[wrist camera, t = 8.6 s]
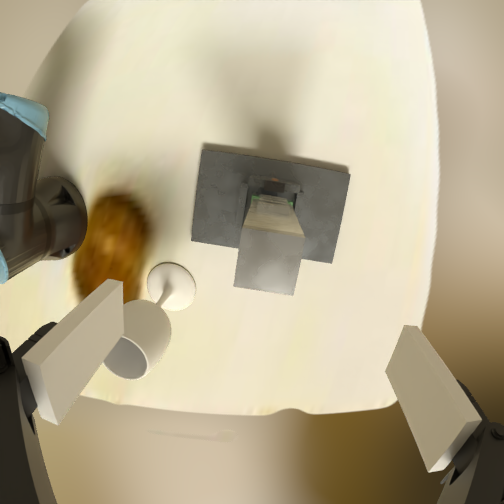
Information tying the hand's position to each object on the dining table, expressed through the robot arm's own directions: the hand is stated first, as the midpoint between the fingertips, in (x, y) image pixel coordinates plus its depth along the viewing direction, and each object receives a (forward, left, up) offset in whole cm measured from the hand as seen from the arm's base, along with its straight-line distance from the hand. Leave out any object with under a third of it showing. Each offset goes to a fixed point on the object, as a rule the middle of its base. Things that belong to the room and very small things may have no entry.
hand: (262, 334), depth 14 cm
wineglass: (-14, -16, -36) cm, 42 cm away
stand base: (0, 0, -36) cm, 36 cm away
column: (0, 0, -29) cm, 29 cm away
